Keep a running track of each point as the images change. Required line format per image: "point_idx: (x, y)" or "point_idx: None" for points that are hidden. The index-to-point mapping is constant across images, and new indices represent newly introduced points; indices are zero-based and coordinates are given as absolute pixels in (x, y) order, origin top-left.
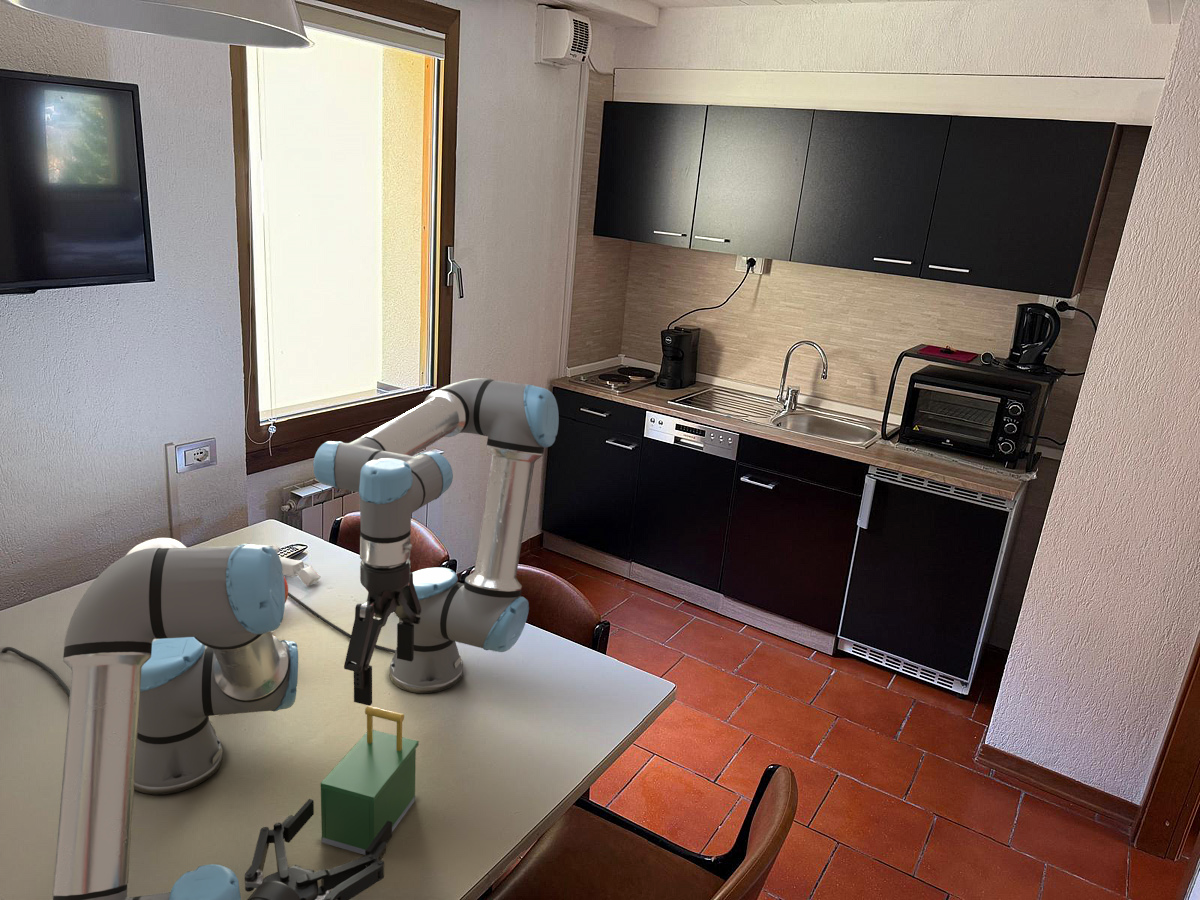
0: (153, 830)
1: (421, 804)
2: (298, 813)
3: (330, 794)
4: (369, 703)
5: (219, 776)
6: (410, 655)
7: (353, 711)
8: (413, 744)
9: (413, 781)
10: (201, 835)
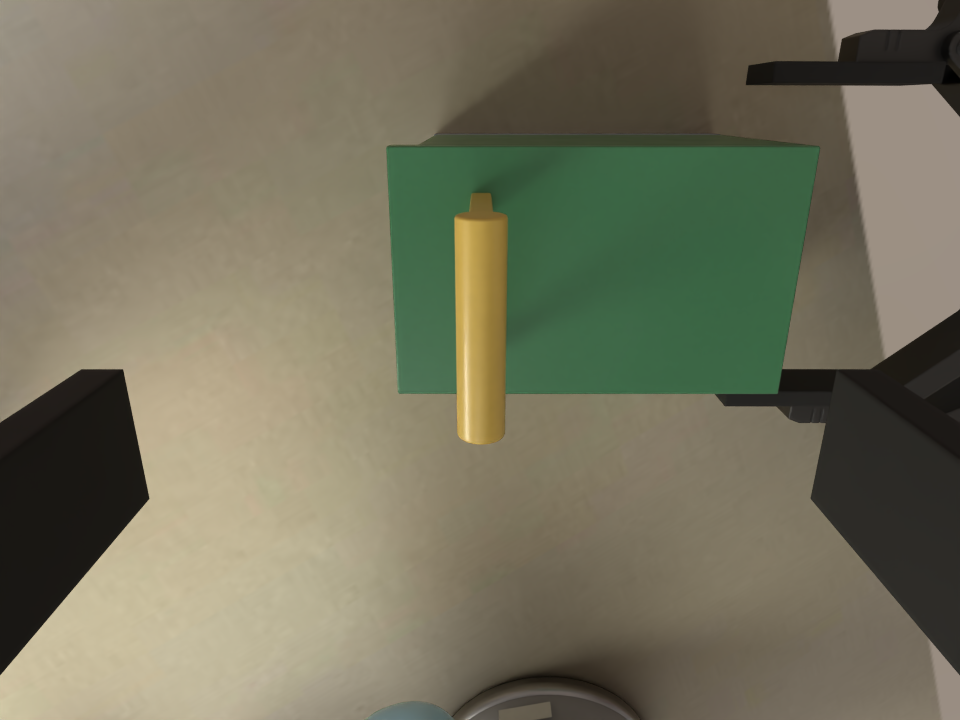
0: (748, 672)
1: (444, 103)
2: (800, 399)
3: None
4: (889, 380)
5: (541, 661)
6: (90, 406)
7: (145, 522)
8: (420, 158)
9: (446, 137)
10: (739, 582)
